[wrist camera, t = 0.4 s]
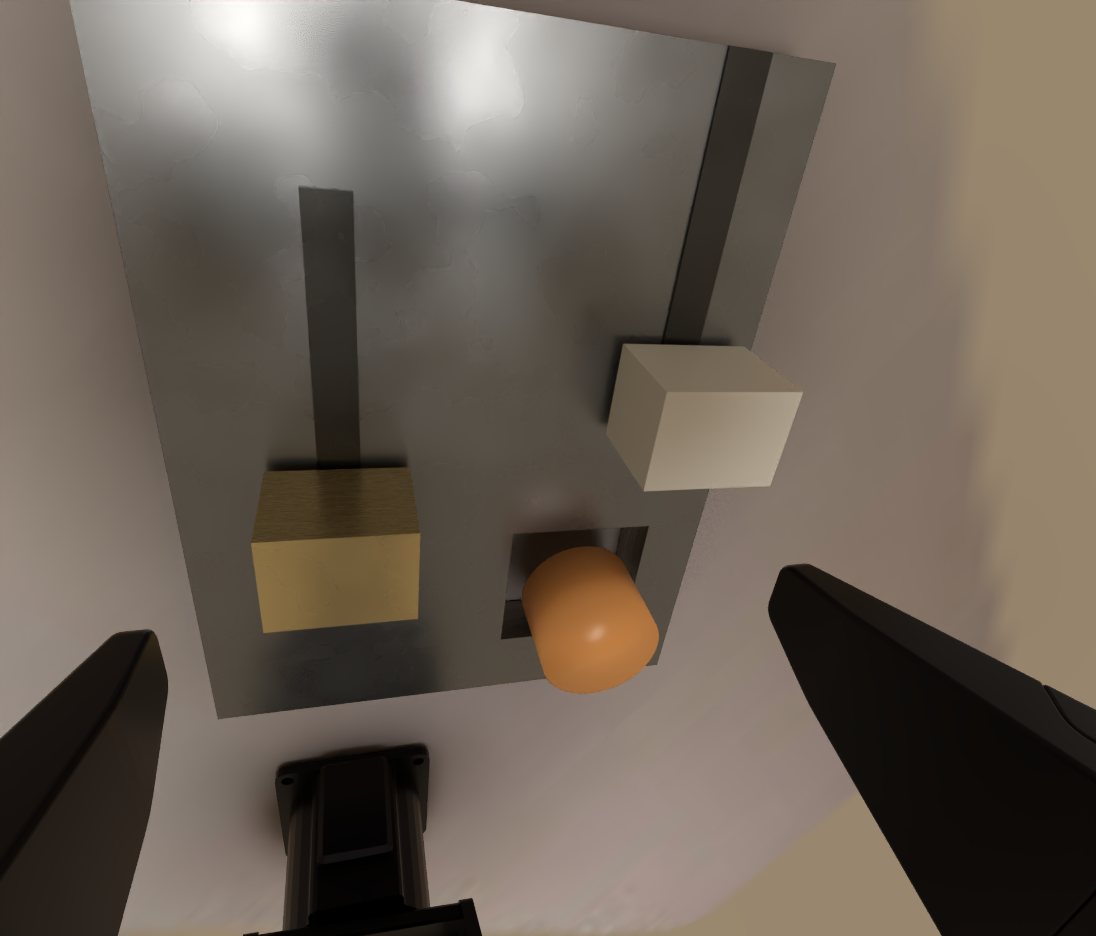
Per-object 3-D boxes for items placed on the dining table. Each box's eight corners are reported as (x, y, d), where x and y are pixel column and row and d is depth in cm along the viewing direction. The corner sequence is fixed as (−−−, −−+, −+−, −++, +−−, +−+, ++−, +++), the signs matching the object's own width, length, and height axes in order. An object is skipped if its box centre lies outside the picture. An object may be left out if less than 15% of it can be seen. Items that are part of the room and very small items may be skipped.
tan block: (408, 547, 21) (417, 618, 19) (273, 555, 20) (263, 633, 17) (410, 467, 20) (420, 533, 17) (264, 471, 18) (250, 543, 16)
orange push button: (616, 624, 26) (645, 685, 23) (516, 634, 25) (535, 700, 22) (636, 542, 24) (670, 601, 21) (528, 550, 23) (550, 612, 20)
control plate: (639, 630, 30) (657, 666, 28) (226, 675, 25) (217, 721, 23) (792, 60, 18) (838, 63, 17) (89, -54, 14) (53, -67, 12)
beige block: (719, 432, 22) (770, 485, 19) (605, 434, 21) (643, 491, 18) (744, 346, 20) (803, 391, 18) (623, 343, 19) (667, 392, 17)
